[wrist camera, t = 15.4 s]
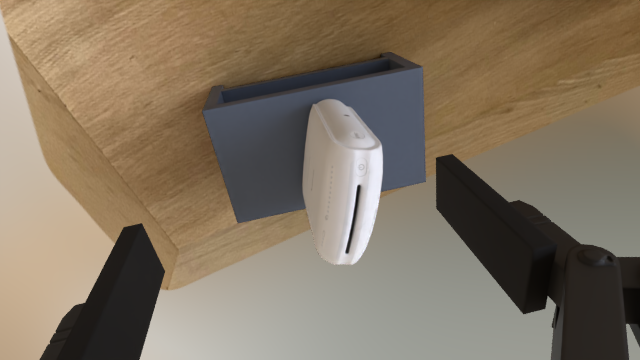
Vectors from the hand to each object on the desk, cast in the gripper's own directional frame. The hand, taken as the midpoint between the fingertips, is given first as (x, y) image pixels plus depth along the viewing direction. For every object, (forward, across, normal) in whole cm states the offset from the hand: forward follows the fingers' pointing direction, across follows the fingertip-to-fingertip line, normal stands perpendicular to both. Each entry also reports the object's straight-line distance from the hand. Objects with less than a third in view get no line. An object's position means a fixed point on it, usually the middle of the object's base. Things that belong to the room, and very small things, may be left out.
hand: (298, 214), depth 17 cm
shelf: (+28, +4, -6) cm, 28 cm away
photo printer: (+19, +4, -6) cm, 20 cm away
